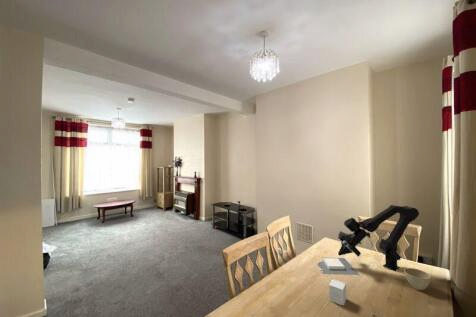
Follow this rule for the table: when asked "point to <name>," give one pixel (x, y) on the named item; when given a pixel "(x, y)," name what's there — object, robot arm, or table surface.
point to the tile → (333, 263)
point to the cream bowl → (417, 278)
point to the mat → (348, 269)
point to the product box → (337, 292)
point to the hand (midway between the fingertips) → (338, 254)
